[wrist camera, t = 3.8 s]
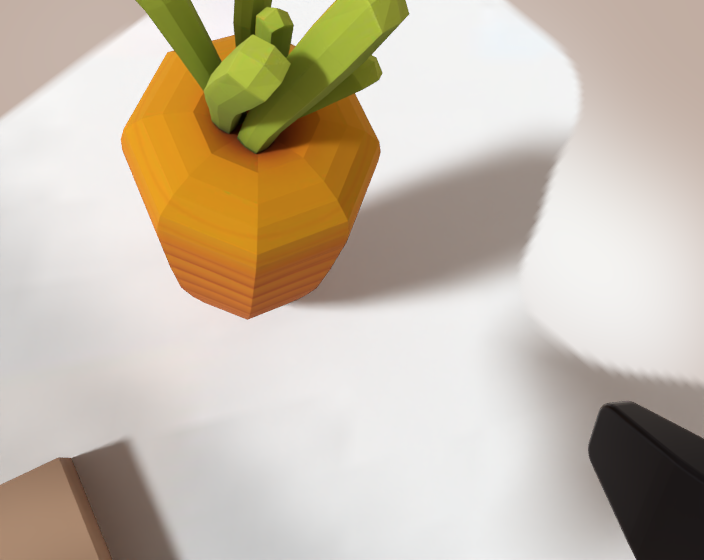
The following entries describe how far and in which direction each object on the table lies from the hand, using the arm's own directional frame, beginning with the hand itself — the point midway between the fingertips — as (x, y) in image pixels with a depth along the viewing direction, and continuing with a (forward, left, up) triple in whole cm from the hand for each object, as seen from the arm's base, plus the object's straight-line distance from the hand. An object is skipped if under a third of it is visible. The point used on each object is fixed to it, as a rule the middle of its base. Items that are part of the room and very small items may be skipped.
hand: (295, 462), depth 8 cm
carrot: (+4, -4, -13) cm, 14 cm away
